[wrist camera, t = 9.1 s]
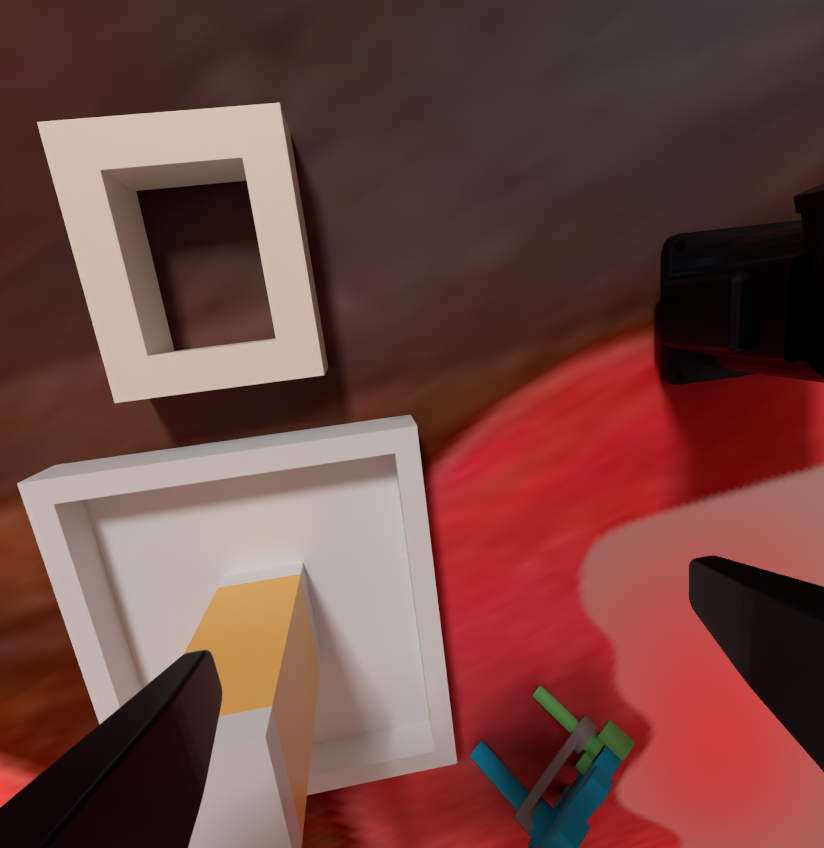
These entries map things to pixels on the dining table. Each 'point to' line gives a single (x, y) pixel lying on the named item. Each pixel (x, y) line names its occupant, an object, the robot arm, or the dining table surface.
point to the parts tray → (258, 549)
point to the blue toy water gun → (566, 822)
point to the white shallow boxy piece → (131, 257)
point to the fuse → (259, 709)
